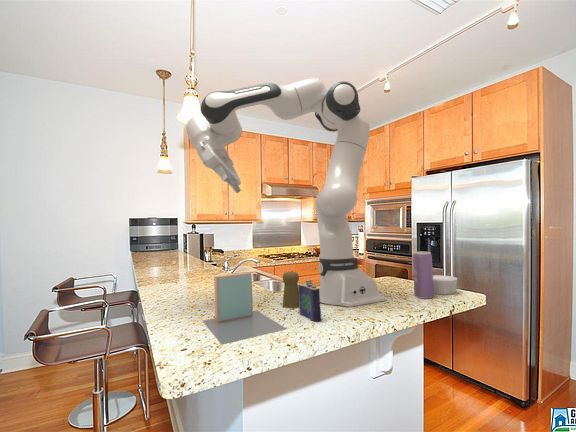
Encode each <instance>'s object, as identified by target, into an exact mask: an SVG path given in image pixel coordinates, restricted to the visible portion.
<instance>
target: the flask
mask: <svg viewBox="0 0 576 432" xmlns="http://www.w3.org/2000/svg"><path fill="white" fill-rule="evenodd" d="M312 281H314V280H313V279H312V278H311V279H306V280H305V283H299V284H298V289H299V307H298V309H299V310H298V311H299V315H300V316H302V317H305V318H306V319H307V318H308V319H309V320H310V321H312V322H313V323H320V322H322V313H321V302H320V295H319V292H320V291H319V288H320V287H318V286H316V285H314V282H312Z"/></svg>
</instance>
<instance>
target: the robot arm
mask: <svg viewBox="0 0 576 432" xmlns="http://www.w3.org/2000/svg"><path fill="white" fill-rule="evenodd" d="M359 101H360V100H359V94H358V90H357V88H356V87H355V85H354V84H353V83H351V82H349V81H343V80H342V81H339V82H336V83H334V84H333V85H332V86H331V87H330V88H328V89H327V87H326V85H325V83H324V82H323V81H322V80H321V79H320V78H317V77H313V78H307V79H306V78H305V79H302V80H299V81H295V82H293V83H290V84H285V85H278V84H276V83H273V82H272V83H271V82H266V83H262V84H261V83H260V84H256V85H250V86H246V87H242V88H237V89H236V88H235V89H232V90H219V91H217V90H216V91H212V92H210V93H208V94H206V96H204V98H203V99H202V102H201V104H200V113H201V114H202V115H194V116H192V117H190V118H189V120H188V121H187V123H186V126H185V127H186V134H187V137H188V139H189V141H190V144H192V147H193V148H195V150H196V152H197V155H198V157H199V158H200V160H201V162H202V164H203V166H204V167H205V168H208V169H210V170H212V171H214V173H215V174H217V175H218V176H219V178H220V179H221V181H223V182H224V183H227V185H228V186H230V187H231V188H232V189H233V191H234V192H235V193H236V194H239V193H240V192H241V191H242V189H241V188H240V185H241V184H242V181H241V178H240V176H239V175H238V173H237V170H236V169H235V167H234V165H235V163H234V162H233V160H232V159H231V158H230V156H229V155H230V154H229V152H228V150H227V148H226V147H227V146H228V145H231V144H233V143H234V142H236V141H238V140H239V139H240V137H241V136H242V134H243V127H242V124H241V122H240V119H239V117H238V115H237V112H236V111H238V110H241V109H245V108H249V107H254V106H259V105H261V106H266V107H267V108H268V109H270V110H271V112H273V114H274V115H275V116H277V117H278V118H279V119H282V120H285V121H289V120H293V119H296V118H299V117H302V116H304V115H306V114H309V113H314V115H315V116H314V117H316V119H317V120H318V121H319V123H320V125H321V127H323V128H324V129H325V130H326V131H327V132H332V133H334V132H337V136H336V139H335V142H334V146H333V149H332V151H331V155H330V159H329V163H328V164H327V165H328V166H327V172H326V173H327V174H326V177H325V183H324V186H323V189H322V190H320V192H318V194H317V195H316V197H315V200H314V201H315V202H314V206H315V214H316V222H317V223H316V224H317V229H318V236H319V252H320V254H319V257H320V258H318V271H319V275H320V277H319V278H320V279H319V287H318V288H319V291H320V292H319V295H320V303H323V304H325V305H333V306H334V305H335V306H343V307H346V308H347V307H351V308H352V307H357V306H362V305H367V304H373V303H378V302H383V301H386V299H387V298H386V296H385V295H384V294H382V293H381V292H379V290H378V286H377V282H376V280H375V279H374V278H372V276H370V275H368V274H367V273H366V272H364V270H362V269H361V268H359V266H363V265H364V264H365V261H364V260H365V259H362V258H356V257H354V250H353V233H352V231H351V229H350V225H349V220H348V214H349V213H351V211H353V210H354V208H355V207H356V204H357V201H358V194H357V193H358V187H359V180H360V172H361V168H362V166H363V162H364V160H365V155H366V152H367V149H368V146H369V145H368V144H369V139H370V133H371V132H370V131H371V130H370V129H371V128H370V123H369V121H367V120H366V119H365V118H363V117H360V116H359V114H360V112H361V105H360V102H359Z"/></svg>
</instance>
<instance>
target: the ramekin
mask: <svg viewBox="0 0 576 432" xmlns="http://www.w3.org/2000/svg"><path fill="white" fill-rule="evenodd" d="M458 280H459V279H458V277H455V276H452V275H451V276H450V275H440V274H439V275H434V274H433V285H434V295H443V296H449V295H451V296H452V295H454V294H455V293H456V292H457V287H458V286H457V284H458V282H459V281H458Z"/></svg>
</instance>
